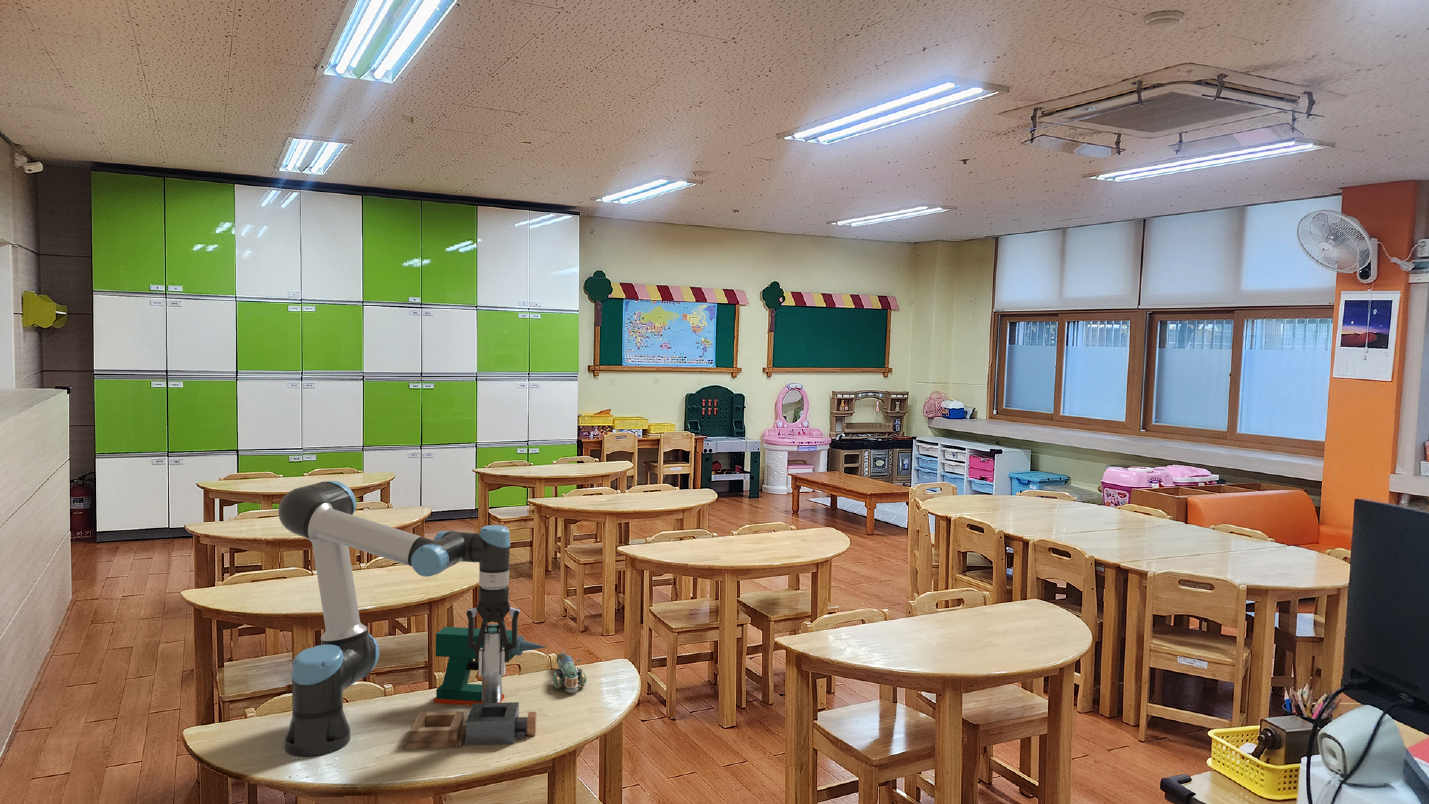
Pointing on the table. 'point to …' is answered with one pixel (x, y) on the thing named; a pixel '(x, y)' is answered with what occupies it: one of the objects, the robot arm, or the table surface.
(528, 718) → the block
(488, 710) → the socket block
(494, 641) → the peg
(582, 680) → the hoverbike
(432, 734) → the frame
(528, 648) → the power tool
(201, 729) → the table surface
